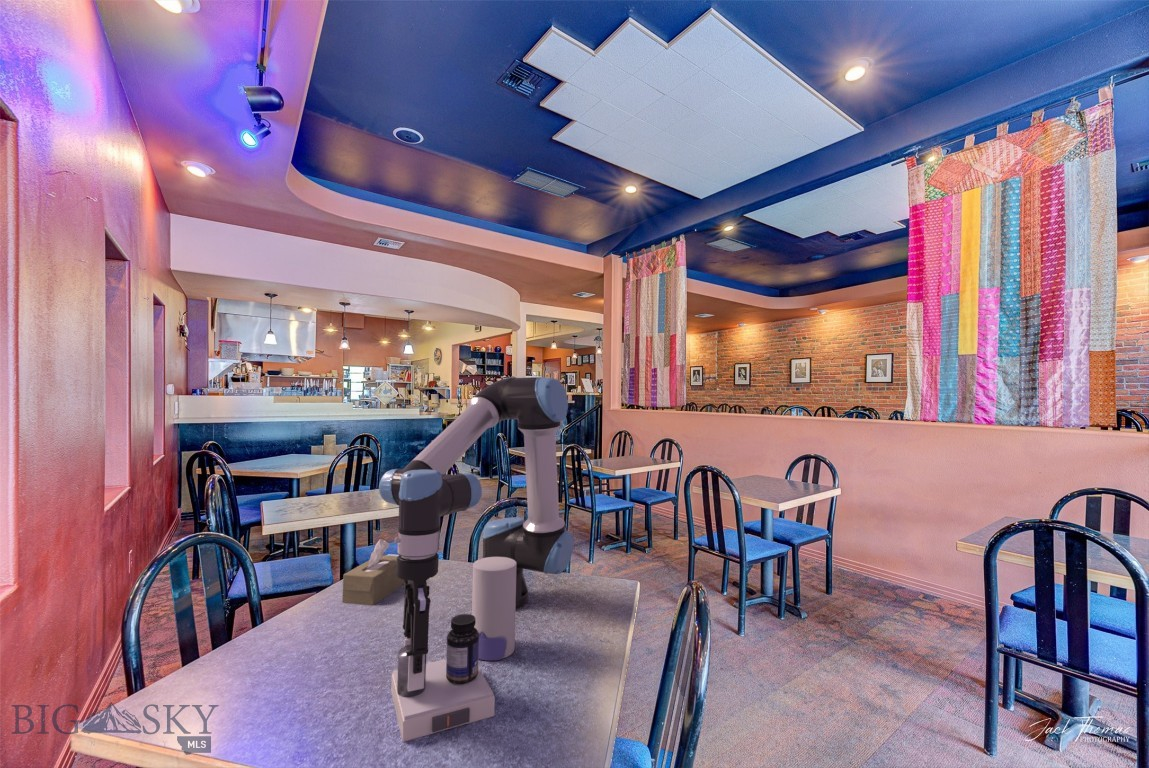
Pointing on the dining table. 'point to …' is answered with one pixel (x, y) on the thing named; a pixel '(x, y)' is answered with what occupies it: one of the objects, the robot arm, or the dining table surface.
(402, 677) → the cylinder
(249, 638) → the dining table surface
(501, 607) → the container
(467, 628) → the pill bottle
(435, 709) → the scale
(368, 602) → the tissue box
